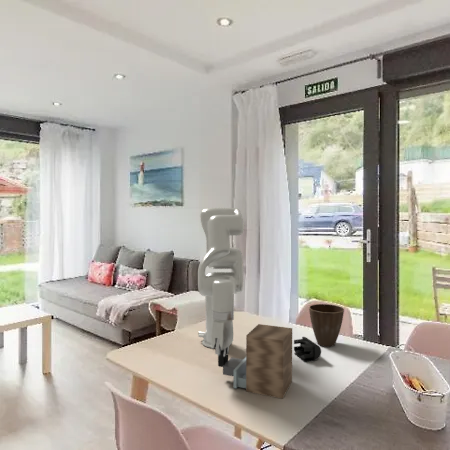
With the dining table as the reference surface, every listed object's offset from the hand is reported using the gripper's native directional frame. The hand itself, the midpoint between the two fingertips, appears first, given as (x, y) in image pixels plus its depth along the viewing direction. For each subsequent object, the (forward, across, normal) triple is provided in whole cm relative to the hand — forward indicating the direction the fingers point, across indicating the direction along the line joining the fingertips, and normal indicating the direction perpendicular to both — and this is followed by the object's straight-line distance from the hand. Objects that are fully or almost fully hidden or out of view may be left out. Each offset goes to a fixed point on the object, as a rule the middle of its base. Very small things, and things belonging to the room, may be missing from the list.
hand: (223, 366), depth 133 cm
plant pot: (+4, -48, +29) cm, 56 cm away
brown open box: (+4, 0, +17) cm, 17 cm away
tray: (+4, 0, +10) cm, 11 cm away
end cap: (+4, -30, +24) cm, 39 cm away
